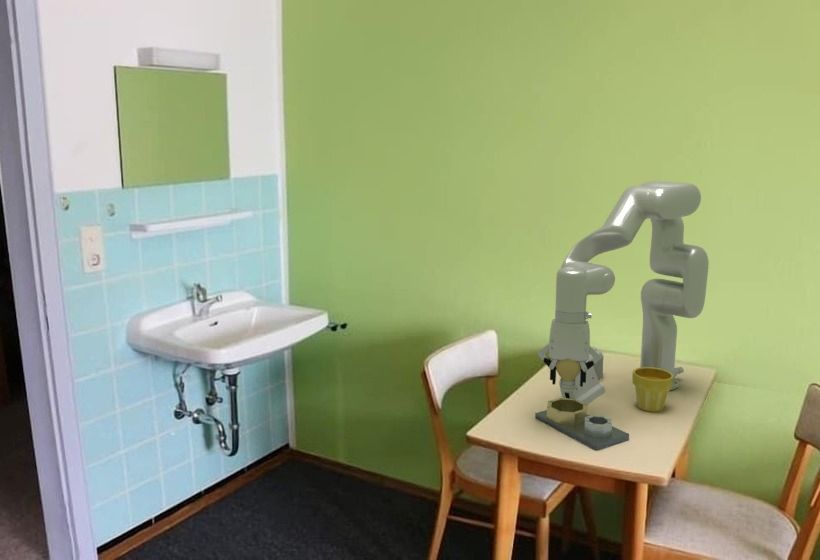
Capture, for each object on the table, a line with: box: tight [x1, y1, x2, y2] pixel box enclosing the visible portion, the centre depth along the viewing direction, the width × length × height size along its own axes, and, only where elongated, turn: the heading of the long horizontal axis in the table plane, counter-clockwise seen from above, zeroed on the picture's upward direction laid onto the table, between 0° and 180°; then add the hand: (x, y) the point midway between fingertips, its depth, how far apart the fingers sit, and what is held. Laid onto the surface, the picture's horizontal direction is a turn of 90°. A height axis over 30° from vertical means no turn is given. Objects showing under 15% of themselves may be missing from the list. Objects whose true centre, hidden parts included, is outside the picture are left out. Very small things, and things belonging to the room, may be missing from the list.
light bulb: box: [555, 359, 581, 393], centre depth 179 cm, size 6×6×10 cm
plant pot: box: [632, 367, 673, 413], centre depth 189 cm, size 10×10×10 cm
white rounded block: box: [558, 366, 606, 406], centre depth 197 cm, size 17×5×10 cm, turn 141°
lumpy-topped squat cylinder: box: [586, 346, 604, 382], centre depth 214 cm, size 10×13×9 cm
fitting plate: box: [534, 397, 630, 451], centre depth 177 cm, size 11×22×4 cm, turn 31°
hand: (567, 383), depth 179 cm, fingers closed on light bulb, 6 cm apart
